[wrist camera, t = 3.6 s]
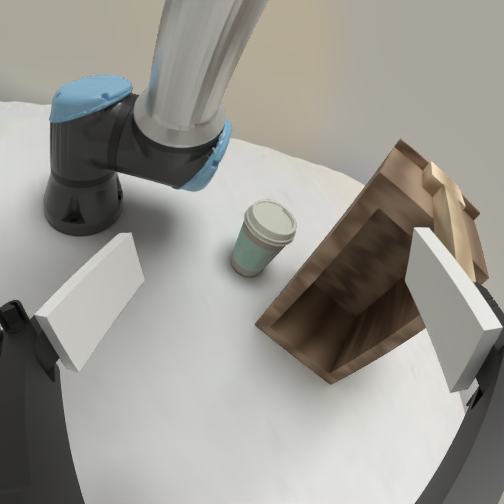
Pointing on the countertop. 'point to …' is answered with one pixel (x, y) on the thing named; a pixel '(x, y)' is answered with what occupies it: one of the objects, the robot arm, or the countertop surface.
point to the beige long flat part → (449, 216)
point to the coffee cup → (262, 236)
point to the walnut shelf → (363, 275)
